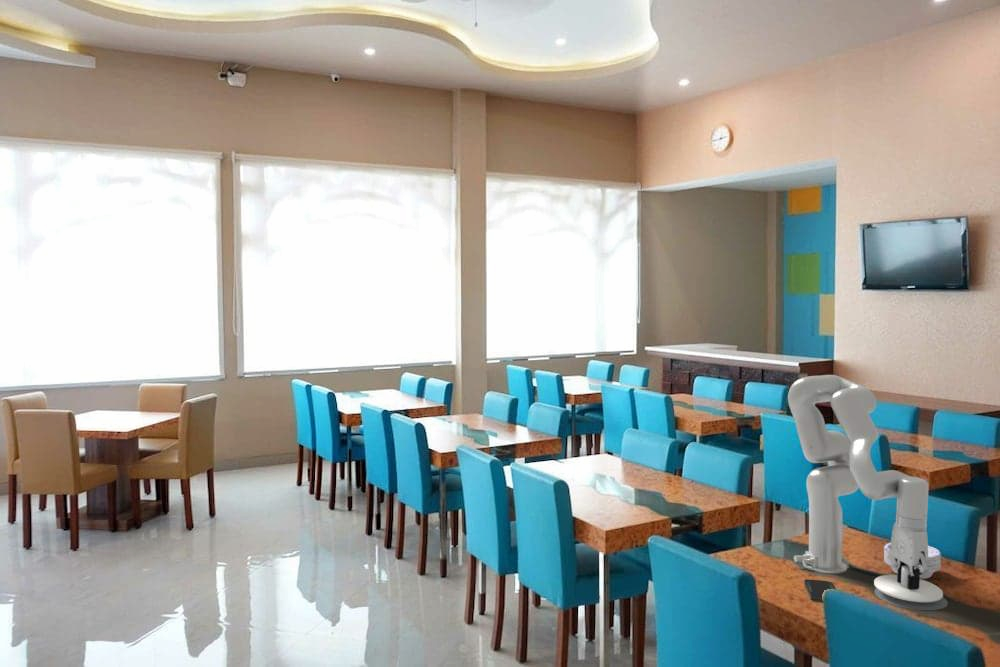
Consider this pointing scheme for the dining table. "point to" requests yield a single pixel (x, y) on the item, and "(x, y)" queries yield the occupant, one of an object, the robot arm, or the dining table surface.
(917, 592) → the lid
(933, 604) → the mat
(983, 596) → the dining table surface
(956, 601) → the dining table surface
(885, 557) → the paper bowls
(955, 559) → the dining table surface
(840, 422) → the robot arm
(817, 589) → the phone
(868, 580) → the dining table surface
